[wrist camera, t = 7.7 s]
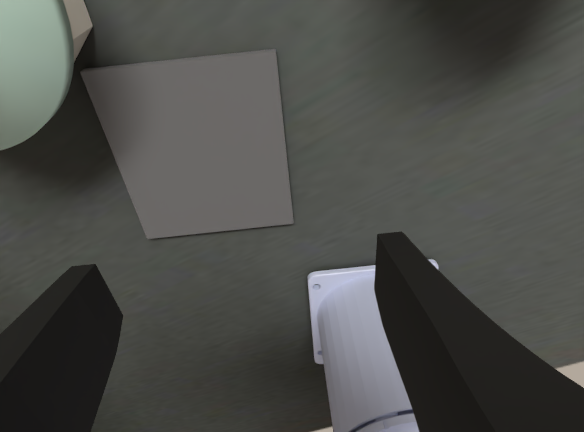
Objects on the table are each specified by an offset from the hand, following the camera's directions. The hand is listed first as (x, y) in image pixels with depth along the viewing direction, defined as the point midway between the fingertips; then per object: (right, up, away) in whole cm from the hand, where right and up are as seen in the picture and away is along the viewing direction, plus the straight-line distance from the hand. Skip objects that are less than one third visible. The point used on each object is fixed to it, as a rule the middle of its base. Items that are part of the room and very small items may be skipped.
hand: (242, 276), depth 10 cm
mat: (-3, +5, +9) cm, 10 cm away
